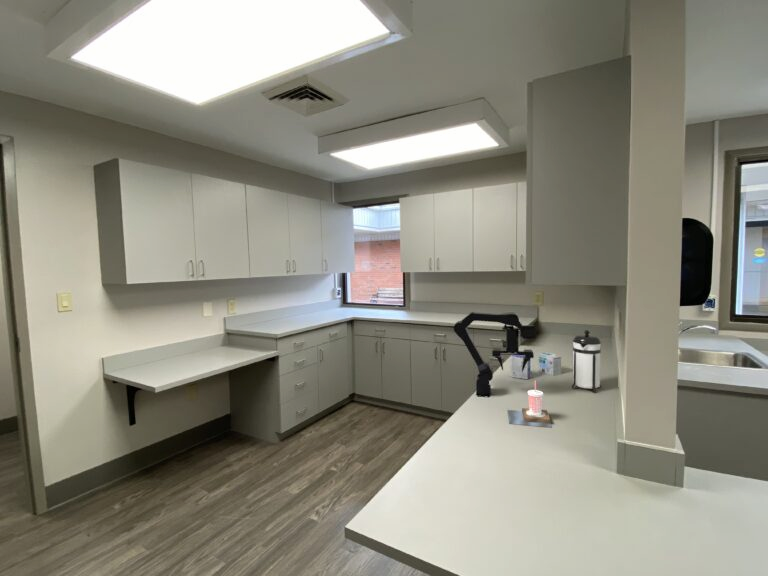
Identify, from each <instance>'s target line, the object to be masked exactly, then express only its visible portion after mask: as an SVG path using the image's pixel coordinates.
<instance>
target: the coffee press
mask: <svg viewBox="0 0 768 576" xmlns="http://www.w3.org/2000/svg"><path fill="white" fill-rule="evenodd" d="M572 342H573V344H572V345H573V346H572V351H573V354H572V355H573V356H572V357H573V358H572V359H573V361H572V362H573V365H572V369H573V370H572V371H573V375H572V383H573V384H572V385H571V389H573V388H575V389H574V390H576V389H577V388H578V387H579V388H581V389H589V390H591V392H592V393H593V392H594V393H593V394H596V393H597V388H598V387H599V386H600V387H602V385H601V353H602V348H601V344H602V340H601V339H600V337H599V336H597V335H595V334H590V331H589V330H587V329H586V330H585V331H584V333H581V334H576V335H575V336H574V337H573V338H572Z"/></svg>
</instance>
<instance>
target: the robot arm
mask: <svg viewBox="0 0 768 576" xmlns="http://www.w3.org/2000/svg"><path fill="white" fill-rule="evenodd" d="M519 319H520V318H519V316H518V314H517V313H515V312H512V311H510V312H502V313H490V312H489V313H487V312H475V311H472V312H469V314H468V315H467V316H465V317H463V319H461V320H458V321H455V323H454V326H453V331H454V333H455V334H456V336H458V337H459V339H460V340H462V342H463V343H464V345H465V347H466V348H467V350H468V352H469V354H470V355H471V357H472V359H473V360H474V363H475V364H476V366H477V369H478V372H479V373H478V374H477V375H476V379H475V380H476V383H475V384H476V385H475V386H476V387H475V389H476V391H475V396H476V395H478V396H477V397H484V396H488V397H487V398H490V395H492V394H491V393H492V392H491V391H492V390H491V384H490V382H491V381H492V379H493V377H494V368H493V367H492V366H491V364H490V362H489V361H488V362H486V361H485V359H483V357H482V355H481V353H480V352H479V349H478V348H477V346H476V345H475V343H474V341H473V339H472V338H471V336H470V331H469V330H468V327H469V326H470V325H471V324H472V323H473V322H475V321H477V322H488V323H489V322H491V323H492V322H493V323H499V324H502V325H503V324H504V325H503V326H502V327H501V330H503V331H505V340H503V341H502V348H503V349H504V348H505V350H501V348H496V347H495V348H494V347H493V348H492V350H491V355H492V357H494V358H495V359H497V361H498V363H499V365H500V367H501V370H502V371H503V370H504V366H503V358H502V355H504V356H505V355H508V356H509V355H510V356H512V355H523V363H522V371H523V370H524V367H525V365H526V363H527V361H528V360H530V361H531V359H534V358H535V357H534V351H533V350H532V349H523V351H522V350H521V351H520V350H519V343H520V342H519V337H520V338H521V339H522V340H536V327H535V325H534V324H530V325H529V324H528V325H526V324H525V325H524V324H523V323H522V322H520V320H519Z"/></svg>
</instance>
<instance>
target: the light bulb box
mask: <svg viewBox="0 0 768 576" xmlns="http://www.w3.org/2000/svg"><path fill="white" fill-rule="evenodd" d="M538 372H541V373H544V374H547V375H549V376H553V377H554V376H558V375H561V374H562V355H560V354H559V355H558V354H556V353H555V354H554V353H551V352H547V351H546V352H541V353H538Z"/></svg>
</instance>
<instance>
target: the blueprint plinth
mask: <svg viewBox="0 0 768 576" xmlns="http://www.w3.org/2000/svg"><path fill="white" fill-rule="evenodd" d="M507 416H508V417H507V418H508V424H509V425H514V426H515V425H517V426H528V427H537V428H538V427H539V428H548V429H549V428H550V429H551V428H552V425H551V418H550V415H549V412H548V410H547V409H542V410H541V415H532V414H530V412H529V408H525V407H524V408H523V407H522V408H521V410H514V409H513V410H512V409H507Z"/></svg>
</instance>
